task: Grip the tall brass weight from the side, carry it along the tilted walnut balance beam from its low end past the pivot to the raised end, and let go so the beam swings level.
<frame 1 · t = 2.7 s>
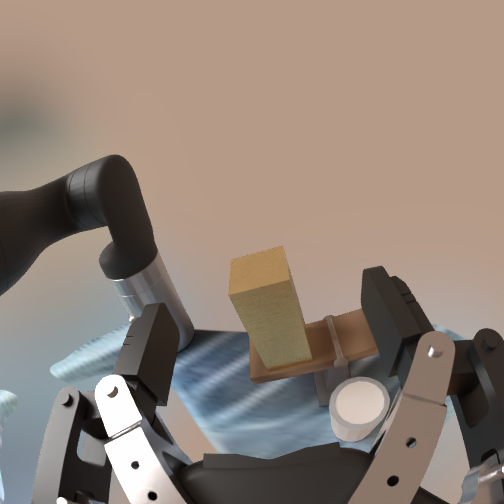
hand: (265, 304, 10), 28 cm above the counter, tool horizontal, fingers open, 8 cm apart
brass weight: (288, 348, 29), point 10 cm above the counter, tilted 6°, touching beam
beam stand: (332, 379, 34), on the counter
beige short cylinder: (352, 423, 28), on the counter
beam: (334, 340, 29), point 10 cm above the counter, hinge at 6.3°, touching brass weight
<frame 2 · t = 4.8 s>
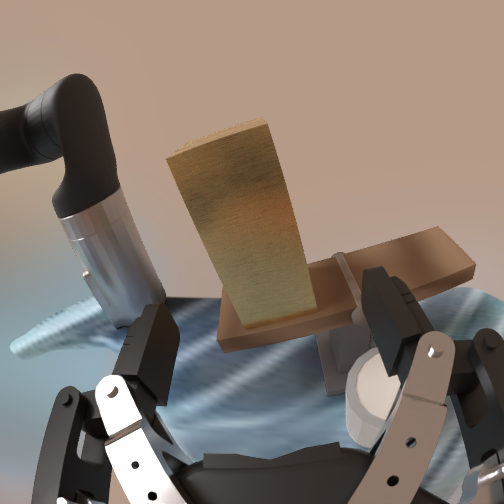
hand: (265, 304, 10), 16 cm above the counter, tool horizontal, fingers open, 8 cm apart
brass weight: (278, 297, 20), point 10 cm above the counter, tilted 6°, touching beam
beam stand: (345, 357, 24), on the counter
beige short cylinder: (377, 420, 18), on the counter
beam: (350, 285, 19), point 9 cm above the counter, hinge at 6.3°, touching brass weight
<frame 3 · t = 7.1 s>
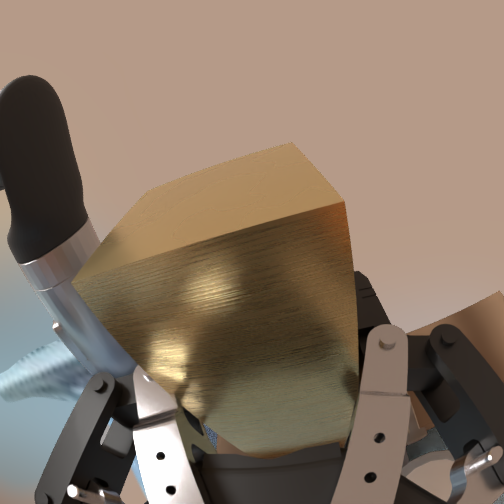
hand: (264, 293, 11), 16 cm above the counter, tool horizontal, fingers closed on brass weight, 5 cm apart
brass weight: (299, 411, 12), point 10 cm above the counter, tilted 6°, touching beam, gripper
beam: (396, 389, 12), point 9 cm above the counter, hinge at 6.3°, touching brass weight
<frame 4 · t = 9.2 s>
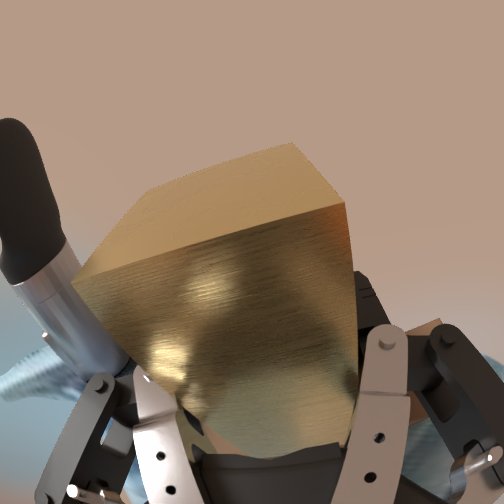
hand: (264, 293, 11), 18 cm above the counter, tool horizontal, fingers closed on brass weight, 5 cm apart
brass weight: (299, 410, 12), point 12 cm above the counter, tilted 6°, touching gripper
beam: (311, 408, 14), point 9 cm above the counter, hinge at 6.2°
when the fingers open (18 cm above the counter, at t = 11.8 s): brass weight stays where it is, resting on beam.
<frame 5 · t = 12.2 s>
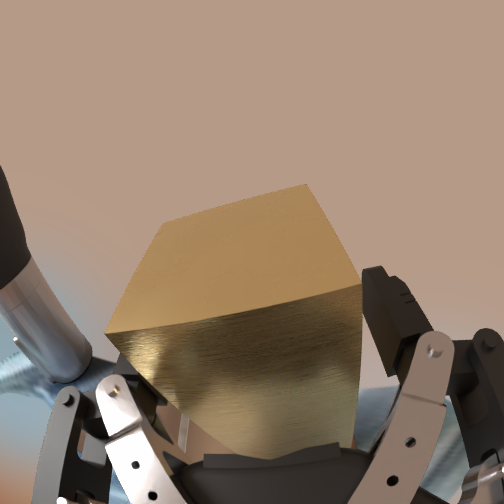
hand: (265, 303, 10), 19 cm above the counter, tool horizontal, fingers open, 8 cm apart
brass weight: (299, 422, 13), point 11 cm above the counter, touching beam
beam: (189, 432, 14), point 9 cm above the counter, hinge at 4.6°, touching brass weight
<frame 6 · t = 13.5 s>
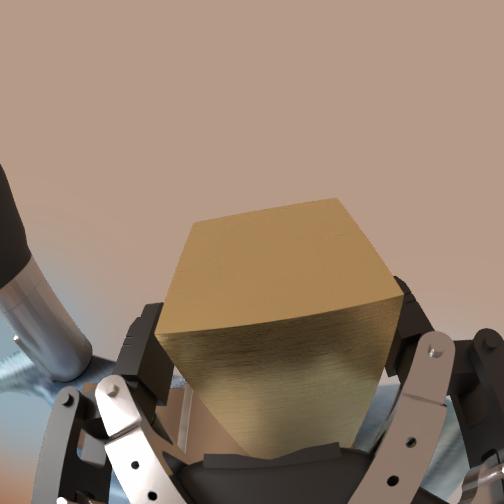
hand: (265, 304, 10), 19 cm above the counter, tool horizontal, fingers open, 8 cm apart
brass weight: (299, 422, 13), point 10 cm above the counter, touching beam
beam: (188, 429, 14), point 9 cm above the counter, hinge at -0.1°, touching brass weight
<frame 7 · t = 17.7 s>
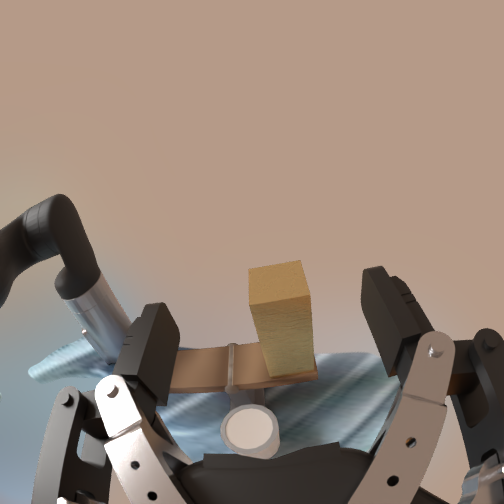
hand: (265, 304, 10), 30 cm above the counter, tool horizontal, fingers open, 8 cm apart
brass weight: (290, 358, 30), point 10 cm above the counter, touching beam
beam stand: (248, 399, 36), on the counter
beige short cylinder: (259, 443, 30), on the counter
beam: (232, 367, 31), point 9 cm above the counter, hinge at -0.1°, touching brass weight
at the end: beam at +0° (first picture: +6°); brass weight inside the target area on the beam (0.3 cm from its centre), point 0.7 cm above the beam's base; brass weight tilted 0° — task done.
